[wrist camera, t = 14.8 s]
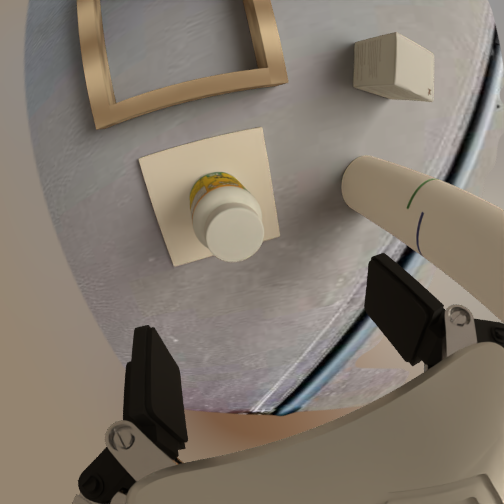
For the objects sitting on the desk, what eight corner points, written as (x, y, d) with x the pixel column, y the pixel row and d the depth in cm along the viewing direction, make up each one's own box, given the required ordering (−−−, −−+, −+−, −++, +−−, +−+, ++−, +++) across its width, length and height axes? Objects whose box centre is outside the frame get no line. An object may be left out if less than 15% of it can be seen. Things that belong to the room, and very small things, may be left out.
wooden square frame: (84, -8, 12) (76, -18, 10) (246, -43, 14) (253, -56, 12) (105, 128, 21) (96, 129, 18) (277, 85, 23) (288, 82, 20)
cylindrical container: (336, 210, 31) (510, 354, 10) (345, 151, 28) (562, 253, 6) (380, 211, 33) (535, 326, 11) (390, 159, 30) (570, 247, 8)
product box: (392, 57, 23) (435, 54, 17) (390, 100, 26) (434, 103, 20) (353, 41, 22) (395, 30, 15) (351, 87, 24) (394, 85, 18)
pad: (139, 158, 23) (138, 158, 23) (260, 127, 25) (261, 127, 24) (174, 264, 29) (174, 266, 29) (278, 234, 31) (280, 236, 30)
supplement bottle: (179, 208, 26) (180, 253, 18) (206, 160, 24) (220, 182, 16) (226, 230, 28) (247, 281, 20) (253, 186, 27) (288, 219, 18)
